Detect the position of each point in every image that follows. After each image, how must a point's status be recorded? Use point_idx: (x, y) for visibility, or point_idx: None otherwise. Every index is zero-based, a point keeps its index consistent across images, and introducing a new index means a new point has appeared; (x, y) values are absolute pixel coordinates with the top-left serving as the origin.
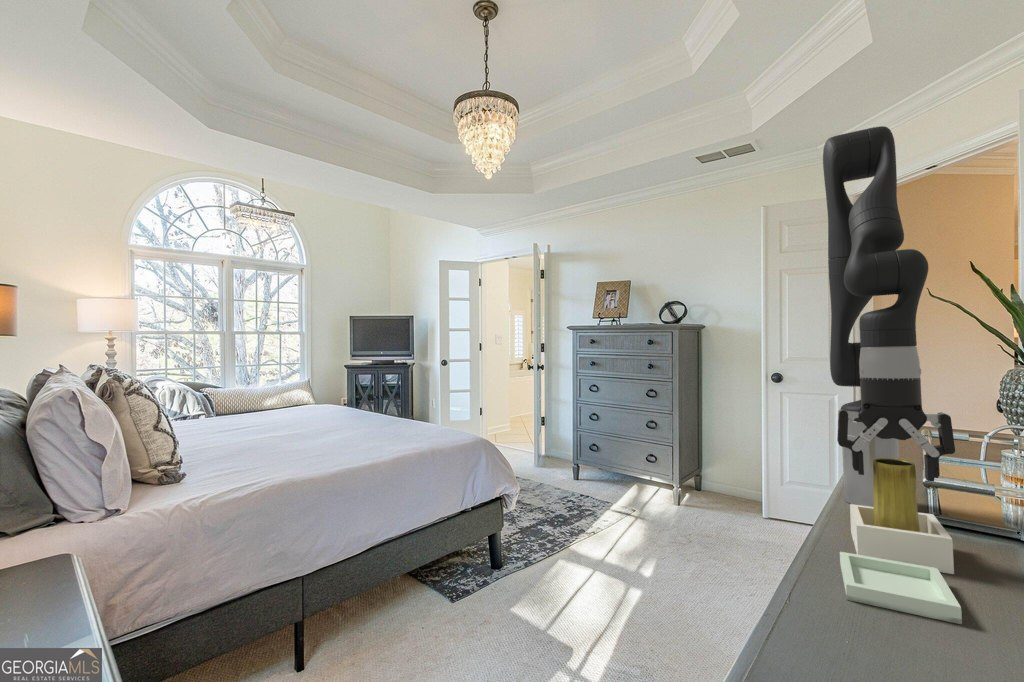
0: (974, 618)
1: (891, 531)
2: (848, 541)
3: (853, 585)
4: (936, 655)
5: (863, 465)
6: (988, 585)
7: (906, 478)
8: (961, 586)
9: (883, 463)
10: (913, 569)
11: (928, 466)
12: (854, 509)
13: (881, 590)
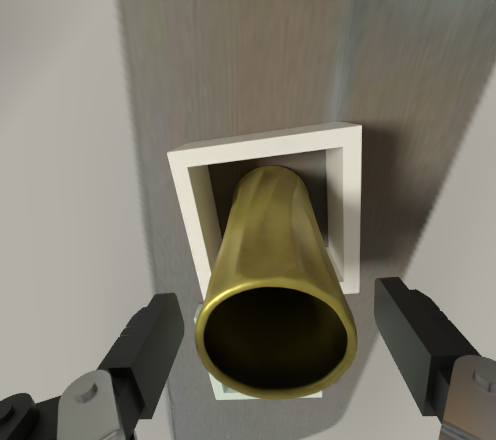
0: None
1: None
2: None
3: (223, 398)
4: (289, 427)
5: (172, 361)
6: (377, 269)
7: (307, 345)
8: None
9: (237, 391)
10: None
11: (402, 370)
12: (184, 197)
13: (249, 396)
